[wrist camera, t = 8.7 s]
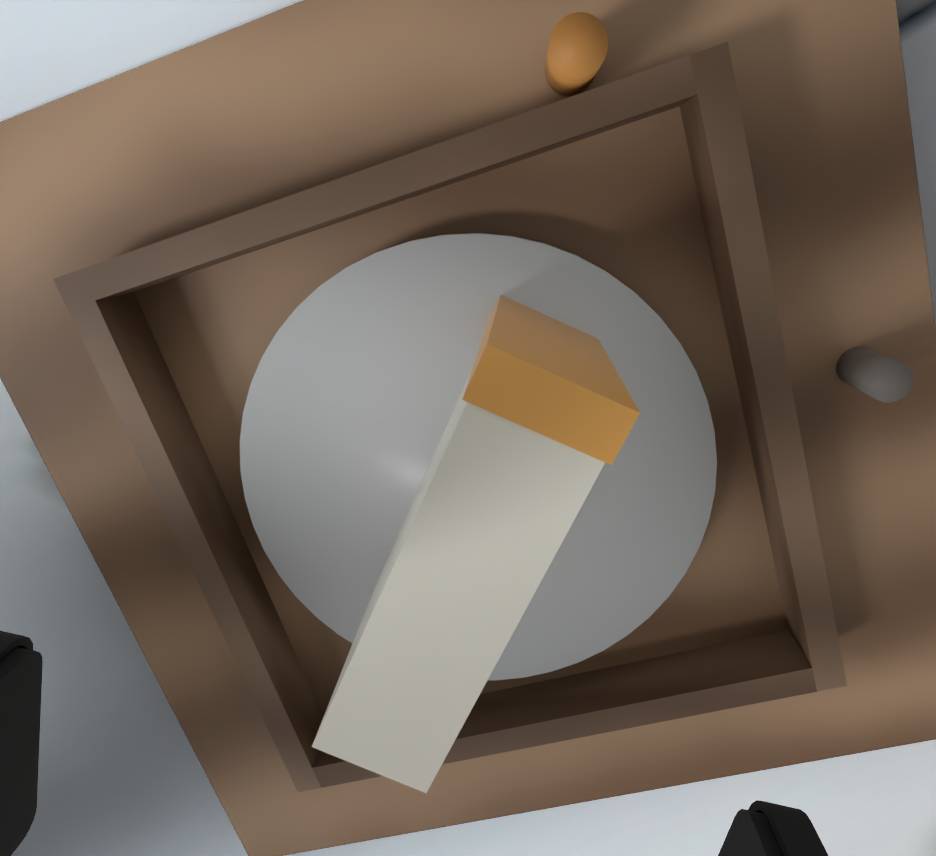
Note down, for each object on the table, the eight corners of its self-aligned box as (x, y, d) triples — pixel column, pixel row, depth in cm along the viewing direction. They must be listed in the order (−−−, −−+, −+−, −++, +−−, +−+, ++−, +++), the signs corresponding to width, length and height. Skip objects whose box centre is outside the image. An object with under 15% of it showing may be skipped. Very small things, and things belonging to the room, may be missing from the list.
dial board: (960, 703, 22) (1042, 797, 19) (263, 832, 26) (222, 929, 23) (842, -195, 15) (937, -314, 12) (-72, 168, 19) (-204, 160, 16)
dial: (802, 358, 18) (983, 455, 11) (578, 723, 22) (604, 965, 15) (339, 146, 17) (211, 103, 10) (197, 564, 21) (36, 740, 14)
